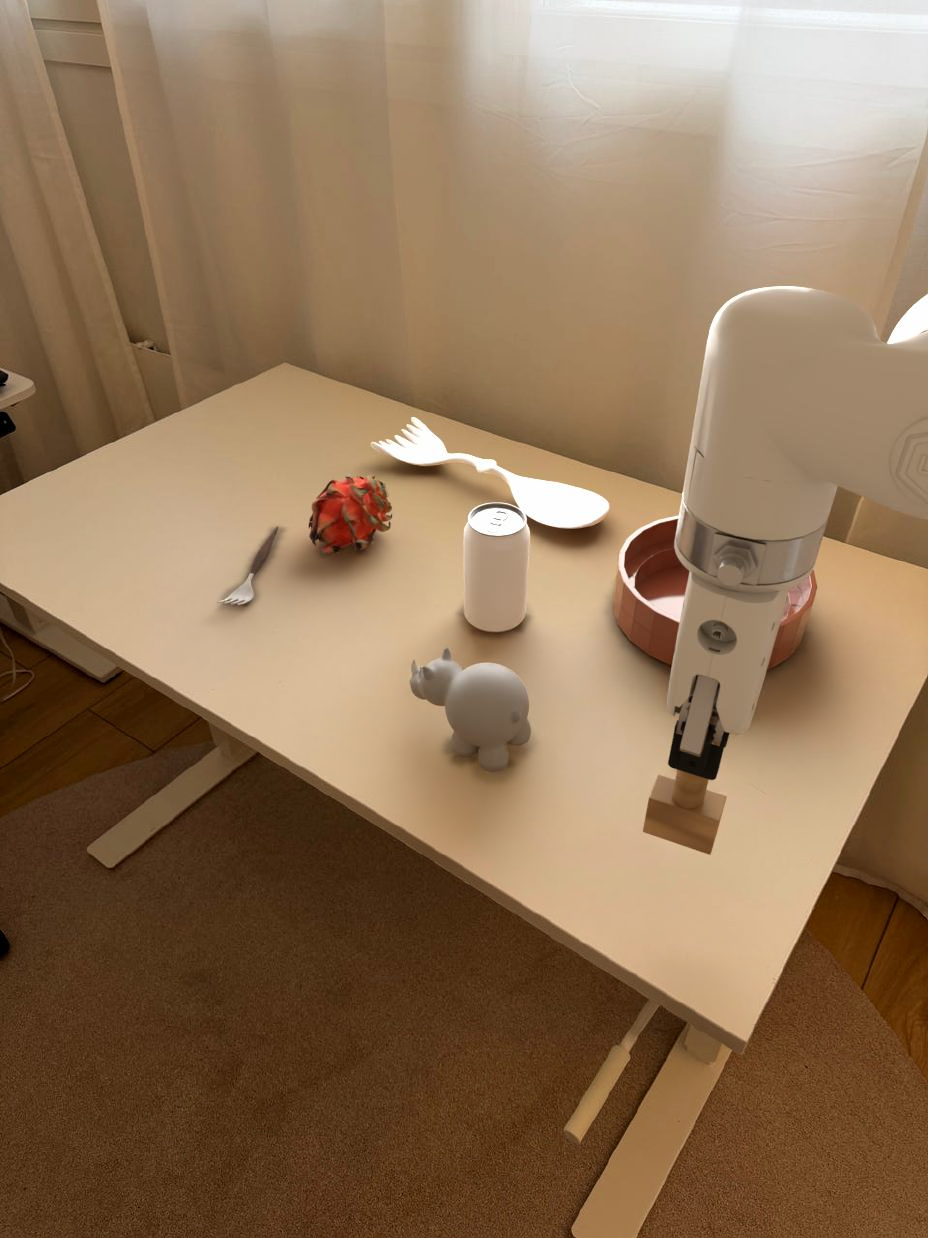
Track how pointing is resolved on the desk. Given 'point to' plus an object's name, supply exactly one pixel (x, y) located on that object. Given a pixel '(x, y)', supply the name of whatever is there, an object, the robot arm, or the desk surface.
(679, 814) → the wooden stamp
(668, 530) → the bowl
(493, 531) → the can
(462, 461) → the spoon
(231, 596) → the fork
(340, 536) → the dragon fruit
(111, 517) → the desk surface
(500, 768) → the chubby cartoon animal
